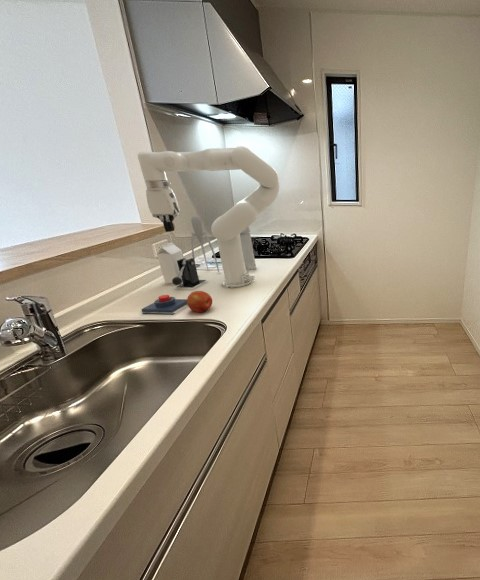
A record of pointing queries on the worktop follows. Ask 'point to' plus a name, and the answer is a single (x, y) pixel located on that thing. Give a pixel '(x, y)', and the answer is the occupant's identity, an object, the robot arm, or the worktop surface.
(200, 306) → the apple
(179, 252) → the milk carton
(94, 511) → the worktop surface
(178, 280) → the lever
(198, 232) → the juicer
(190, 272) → the bracket
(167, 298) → the button
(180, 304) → the button box
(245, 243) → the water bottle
